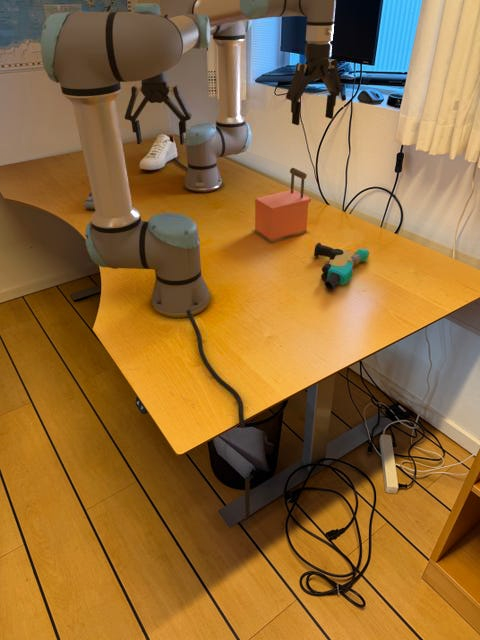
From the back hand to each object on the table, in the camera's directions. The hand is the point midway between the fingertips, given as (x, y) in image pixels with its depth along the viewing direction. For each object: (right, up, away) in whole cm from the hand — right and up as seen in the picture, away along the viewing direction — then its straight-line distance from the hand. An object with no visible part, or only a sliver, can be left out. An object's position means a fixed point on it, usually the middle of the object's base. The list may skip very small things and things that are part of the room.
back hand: (312, 121), depth 148 cm
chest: (-9, -32, +11) cm, 36 cm away
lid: (-9, -24, +5) cm, 26 cm away
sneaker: (-60, +9, +70) cm, 93 cm away
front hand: (-48, -6, +2) cm, 48 cm away
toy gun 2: (+4, -48, -10) cm, 49 cm away
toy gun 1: (-71, -19, +31) cm, 80 cm away
